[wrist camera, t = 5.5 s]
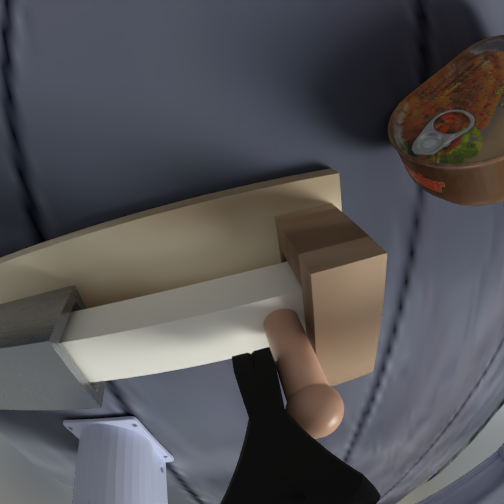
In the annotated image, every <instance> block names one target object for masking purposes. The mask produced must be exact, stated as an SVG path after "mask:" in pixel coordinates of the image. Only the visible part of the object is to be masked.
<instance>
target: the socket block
mask: <svg viewBox="0 0 504 504" xmlns="http://www.w3.org/2000/svg"><path fill="white" fill-rule="evenodd" d="M274 218H275V224H276V230H277V237H278V244H279V250H280V257H281V263H283V262H287V261H288V263H289V265H290V267H291V269H292V271H293V272H294V274H295V276H296V278H297V280H298V282H299V284H300V285H301V287H302V292H303V303H304V313H305V324H306V335H307V337H308V339H309V341H310V343H311V346H312V348H313V350H314V352H315V354H316V357H317V359H318V361H319V363H320V366H321V368H322V370H323V372H324V374H325V377H326V379H327V381H328V383H329V386H330V387H331V386H334V385H337V384H340V383H343V382H346V381H349V380H352V379H355V378H357V377H360V376H363V375H366V374H368V373H371V372H373V370H374V364H375V358H376V352H377V345H378V339H379V332H380V324H381V316H382V308H383V298H384V288H385V277H386V263H387V252H386V251H385V250H384V249H382V248H381V247H380V246H379V245H378V244H377V243H376V242H375V241H374V240H373V239H372V238H371V237H369V236H368V235H367V234H366V233H365V232H364V231H363V230H362V229H361V228H360V227H358V226H357V225H356V224H355V223H354V222H353V221H352V220H351V219H349V218H348V217H347V216H346V215H345V214H344V213H343V212H341V211H340V210H339V209H338V208H337V207H336V206H334V205H333V204H328V205H323V206H319V207H314V208H309V209H305V210H300V211H296V212H291V213H287V214H282V215H278V216H274Z"/></svg>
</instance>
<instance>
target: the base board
mask: <svg viewBox="0 0 504 504" xmlns="http://www.w3.org/2000/svg"><path fill="white" fill-rule="evenodd" d="M328 204H333V205H334V206H336V207H337V208H338V209H339V210H340V211H341V212H342V207H341V191H340V177H339V173H338V172H336V171H335V170H333V169H331V168H330V169H324V170H319V171H313V172H308V173H303V174H298V175H292V176H287V177H283V178H278V179H273V180H268V181H263V182H259V183H254V184H249V185H245V186H240V187H236V188H232V189H227V190H223V191H219V192H215V193H210V194H206V195H202V196H198V197H194V198H190V199H186V200H182V201H178V202H175V203H171V204H167V205H163V206H160V207H156V208H152V209H149V210H145V211H141V212H138V213H134V214H131V215H127V216H124V217H121V218H117V219H114V220H110V221H107V222H104V223H100V224H97V225H94V226H91V227H88V228H84V229H81V230H78V231H75V232H72V233H69V234H66V235H63V236H60V237H57V238H54V239H51V240H48V241H45V242H42V243H39V244H36V245H34V246H31V247H28V248H25V249H22V250H20V251H17V252H14V253H12V254H9V255H6V256H4V257H1V258H0V304H3V303H7V302H10V301H14V300H18V299H22V298H26V297H29V296H33V295H37V294H41V293H45V292H49V291H52V290H56V289H60V288H64V287H68V286H72V285H75V287H76V289H77V290H78V292H79V294H80V296H81V298H82V300H83V302H84V304H85V305H86V307H87V309H88V308H93V307H97V306H102V305H106V304H110V303H115V302H119V301H124V300H128V299H133V298H137V297H141V296H146V295H150V294H154V293H159V292H163V291H167V290H172V289H176V288H180V287H184V286H189V285H193V284H197V283H201V282H205V281H210V280H214V279H218V278H222V277H226V276H230V275H235V274H239V273H243V272H247V271H251V270H255V269H259V268H263V267H267V266H271V265H275V264H279V263H281V257H280V250H279V244H278V237H277V230H276V224H275V218H274V216H278V215H282V214H287V213H291V212H296V211H300V210H305V209H309V208H314V207H319V206H323V205H328Z"/></svg>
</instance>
